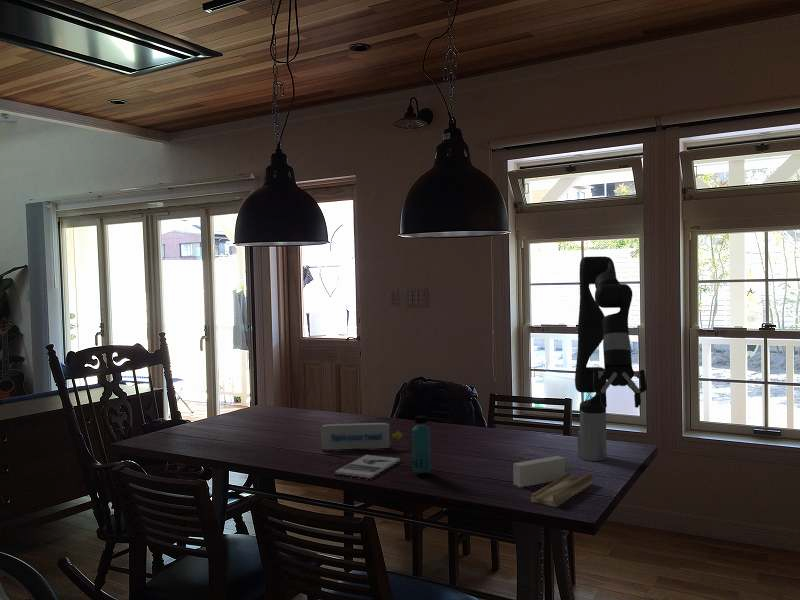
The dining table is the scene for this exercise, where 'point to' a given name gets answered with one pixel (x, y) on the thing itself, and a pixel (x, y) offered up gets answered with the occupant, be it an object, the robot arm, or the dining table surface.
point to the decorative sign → (356, 436)
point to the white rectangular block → (538, 471)
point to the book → (368, 466)
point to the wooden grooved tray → (561, 490)
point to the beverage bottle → (421, 446)
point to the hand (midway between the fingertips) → (620, 407)
